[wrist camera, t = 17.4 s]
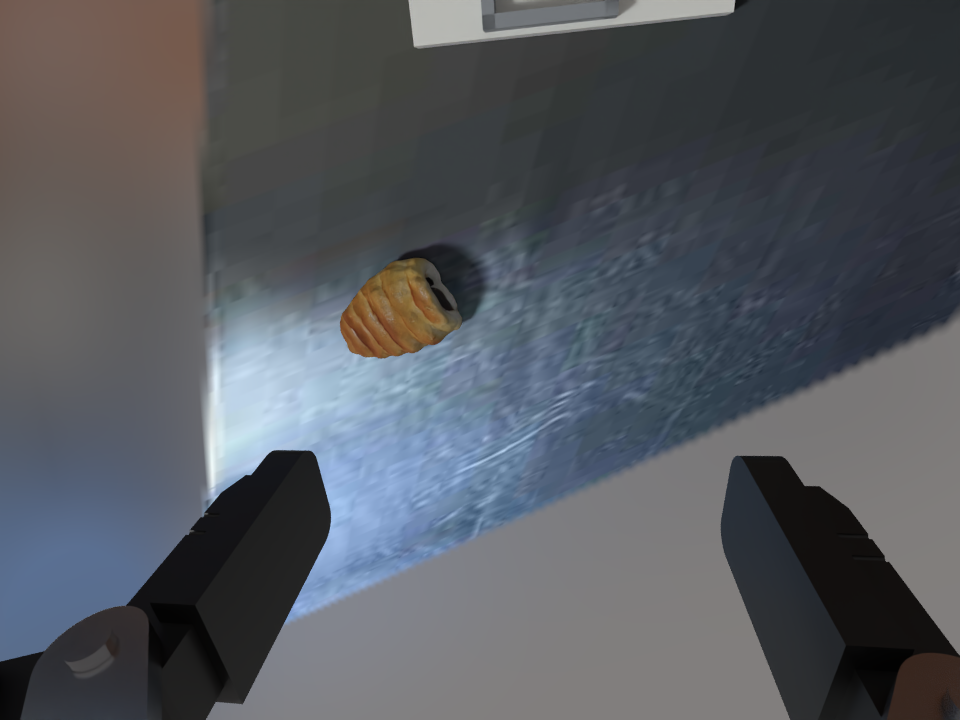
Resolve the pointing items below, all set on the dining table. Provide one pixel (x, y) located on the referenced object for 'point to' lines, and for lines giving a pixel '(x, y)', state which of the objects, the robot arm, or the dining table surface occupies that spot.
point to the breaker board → (543, 17)
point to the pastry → (400, 311)
